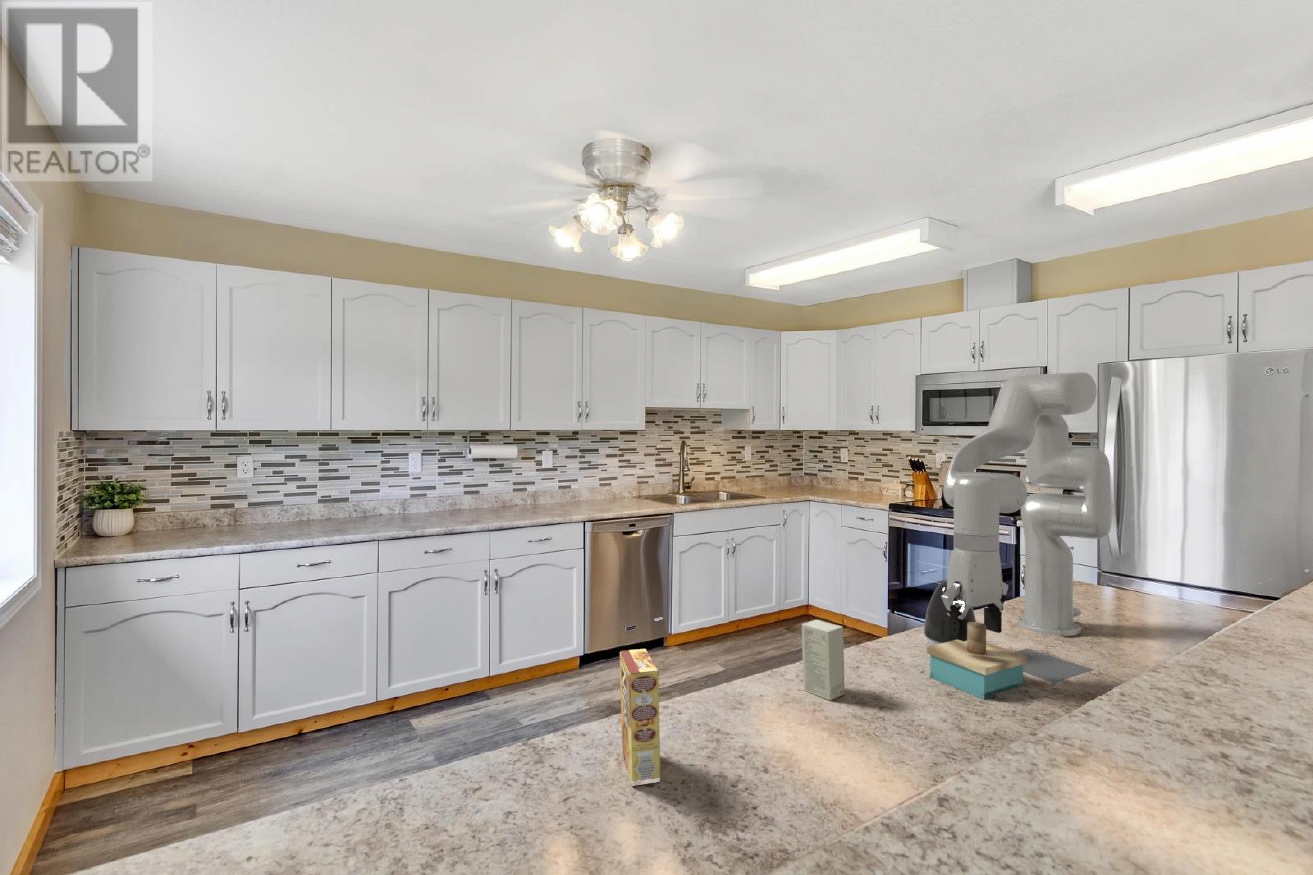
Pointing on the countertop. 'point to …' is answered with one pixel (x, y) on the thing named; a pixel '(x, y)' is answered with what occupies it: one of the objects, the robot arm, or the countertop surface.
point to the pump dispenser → (940, 618)
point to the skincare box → (823, 659)
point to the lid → (977, 652)
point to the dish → (975, 678)
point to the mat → (1050, 666)
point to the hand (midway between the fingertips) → (975, 634)
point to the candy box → (640, 714)
